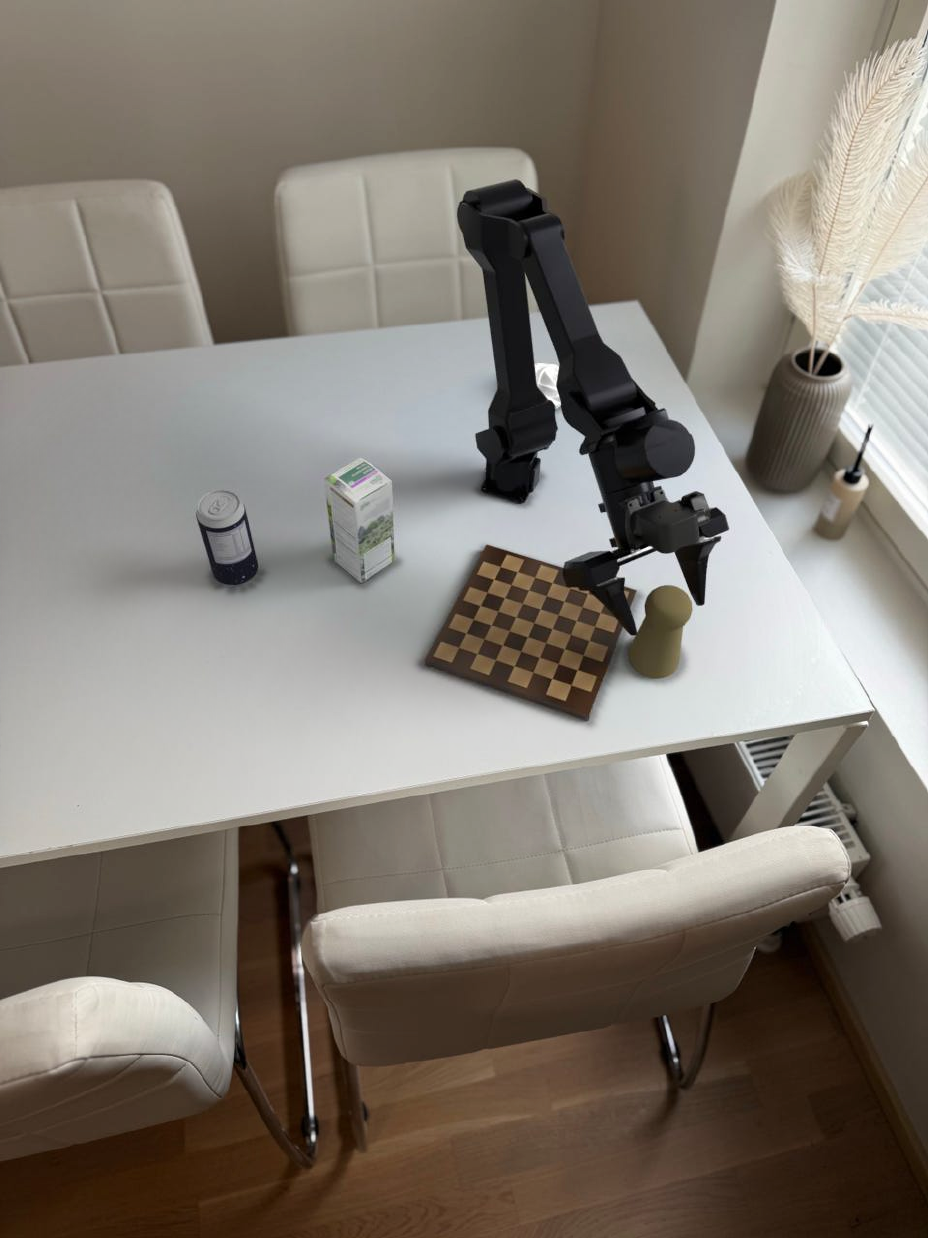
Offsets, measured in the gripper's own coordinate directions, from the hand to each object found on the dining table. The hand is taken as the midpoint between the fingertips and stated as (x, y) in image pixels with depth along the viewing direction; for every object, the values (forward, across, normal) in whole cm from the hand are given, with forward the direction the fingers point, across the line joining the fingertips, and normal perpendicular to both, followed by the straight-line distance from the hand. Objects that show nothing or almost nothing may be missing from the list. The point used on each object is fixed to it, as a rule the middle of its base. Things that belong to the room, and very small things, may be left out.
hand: (667, 619), depth 103 cm
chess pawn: (+5, 0, +6) cm, 8 cm away
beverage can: (-20, -39, +31) cm, 53 cm away
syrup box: (-16, -24, +27) cm, 39 cm away
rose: (-30, +15, +40) cm, 52 cm away
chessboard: (-2, -10, +13) cm, 17 cm away
